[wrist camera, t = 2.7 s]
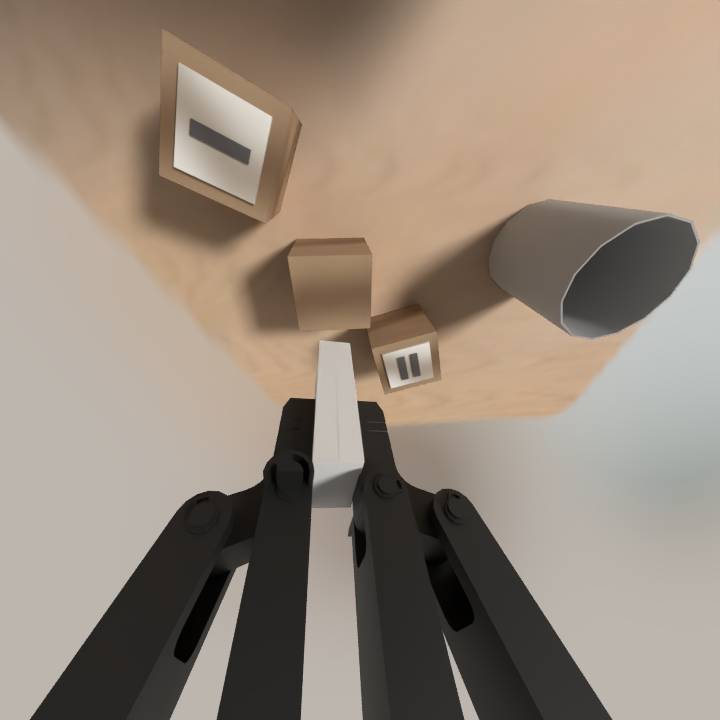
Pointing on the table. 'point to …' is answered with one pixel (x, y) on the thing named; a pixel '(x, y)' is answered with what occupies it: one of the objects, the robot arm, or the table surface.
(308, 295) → the plain block
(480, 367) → the table surface
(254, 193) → the numbered block
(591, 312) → the cup
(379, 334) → the numbered block
